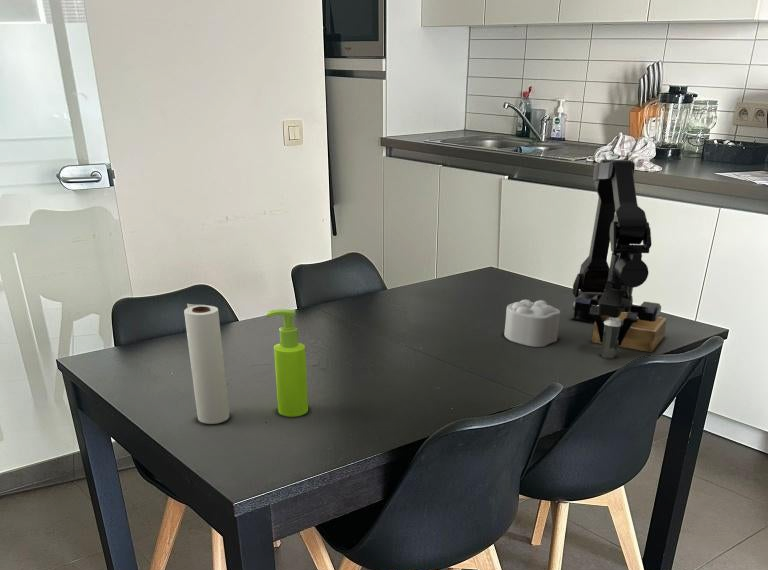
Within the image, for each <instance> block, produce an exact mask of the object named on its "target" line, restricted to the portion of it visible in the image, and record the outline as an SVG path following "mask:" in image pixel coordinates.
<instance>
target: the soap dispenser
mask: <svg viewBox="0 0 768 570" xmlns="http://www.w3.org/2000/svg"><path fill="white" fill-rule="evenodd" d="M265 316H266V317H267V318H269V317H275V316H282V319H283V326H281V327H280V328H279V343H277V344H275V345H274V346H273V354H274V368H275V370H274V371H275V383H276V396H277V398H276V399H277V400H276V401H277V412H278V414H279V415H281V416H284V417H290V418H291V417H293V418H294V417H301V416H303V415H305V414H307V413H308V412H309V401H308V398H309V397H308V379H307V377H308V376H307V358H306V357H307V354H306V345H305V344H304V343H301V342H299V329H298V327H297V326H295V325H294V321H293V320H294V319H293V317H296V309H287V308H285V309H284V308H278V309H272V310H268V311H266V312H265Z"/></svg>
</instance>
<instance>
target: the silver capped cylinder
mask: <svg viewBox="0 0 768 570" xmlns="http://www.w3.org/2000/svg"><path fill="white" fill-rule="evenodd" d="M623 323H624V321H623V320H622V319H620V318H613V317H610V318H607V319H605V320H604V322H603V340H602V344H601V357H602V358H604V359H614V358H616V355H617V351H618V343H619V338H620V335H621V331H622V327H623Z"/></svg>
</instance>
